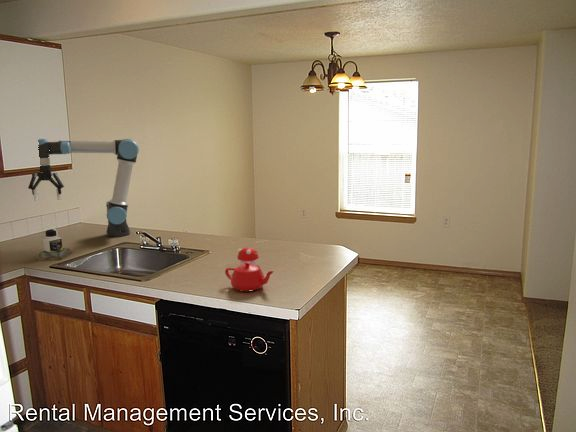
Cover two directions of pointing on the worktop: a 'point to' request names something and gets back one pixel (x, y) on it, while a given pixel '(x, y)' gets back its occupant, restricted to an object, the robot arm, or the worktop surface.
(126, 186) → the robot arm
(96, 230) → the worktop surface
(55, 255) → the collar board
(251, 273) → the teapot
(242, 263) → the mushroom
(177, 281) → the worktop surface
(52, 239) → the medicine bottle
